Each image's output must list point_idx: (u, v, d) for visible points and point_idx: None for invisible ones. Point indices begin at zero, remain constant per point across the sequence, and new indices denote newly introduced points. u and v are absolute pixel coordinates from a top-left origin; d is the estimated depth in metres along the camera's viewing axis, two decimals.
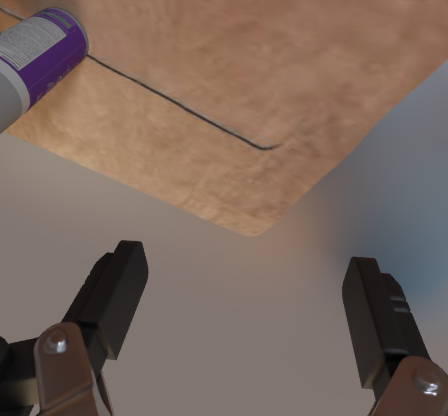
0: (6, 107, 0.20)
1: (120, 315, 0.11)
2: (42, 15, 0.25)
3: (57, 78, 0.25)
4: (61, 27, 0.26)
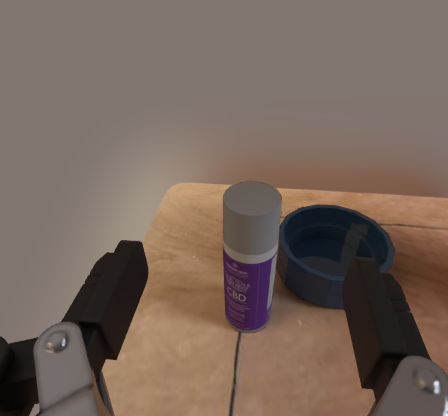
0: (261, 240, 0.24)
1: (120, 315, 0.11)
2: None
3: (246, 295, 0.28)
4: (269, 306, 0.31)
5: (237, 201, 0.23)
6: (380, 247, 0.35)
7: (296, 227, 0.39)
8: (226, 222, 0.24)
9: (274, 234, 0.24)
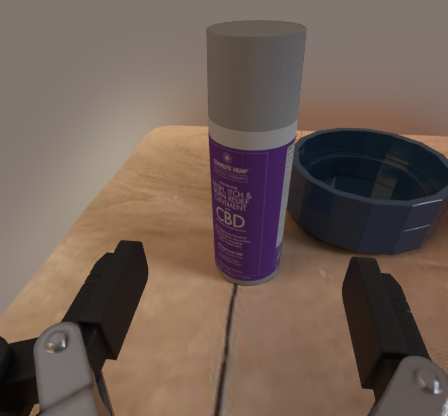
0: (270, 99, 0.14)
1: (120, 315, 0.11)
2: None
3: (245, 216, 0.18)
4: (280, 245, 0.21)
5: (230, 29, 0.14)
6: (432, 174, 0.25)
7: (312, 158, 0.30)
8: (211, 72, 0.14)
9: (293, 95, 0.14)
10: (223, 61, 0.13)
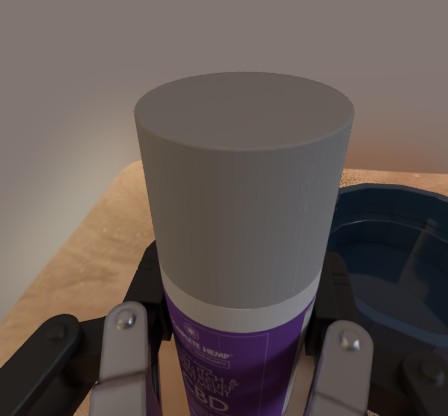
0: (274, 260, 0.06)
1: None
2: None
3: (229, 402, 0.10)
4: (287, 404, 0.13)
5: (185, 110, 0.06)
6: None
7: None
8: (149, 193, 0.07)
9: (322, 238, 0.07)
10: (167, 186, 0.06)
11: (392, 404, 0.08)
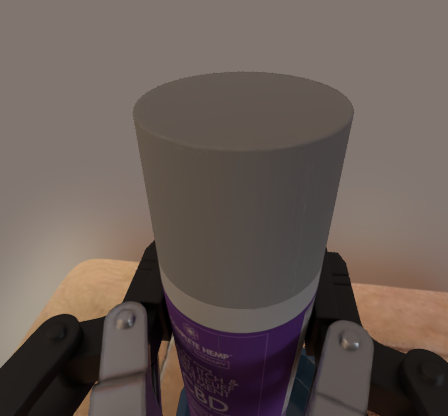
0: (274, 260, 0.06)
1: None
2: None
3: (229, 402, 0.10)
4: (287, 404, 0.13)
5: (184, 110, 0.06)
6: None
7: None
8: (148, 193, 0.07)
9: (321, 238, 0.07)
10: (165, 186, 0.06)
11: (392, 404, 0.08)
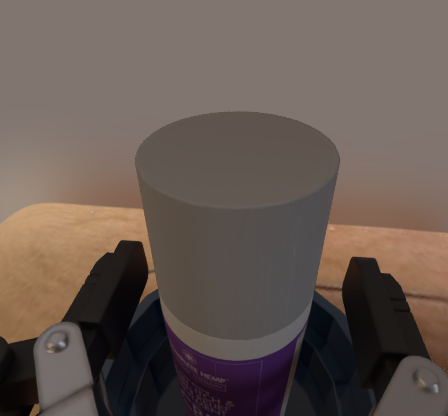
0: (266, 298, 0.07)
1: (120, 315, 0.11)
2: None
3: None
4: None
5: (183, 160, 0.07)
6: (355, 386, 0.14)
7: None
8: (149, 233, 0.07)
9: (311, 274, 0.07)
10: (166, 232, 0.06)
11: None
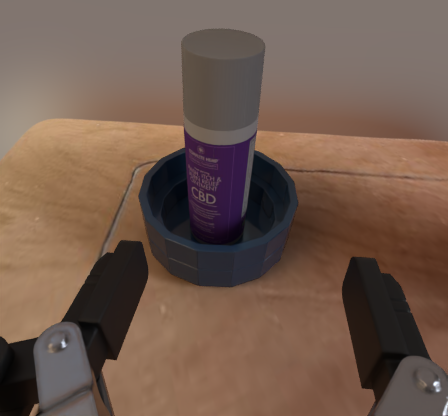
0: (236, 106, 0.17)
1: (120, 315, 0.11)
2: None
3: (216, 195, 0.21)
4: (244, 214, 0.25)
5: (202, 45, 0.16)
6: (284, 200, 0.26)
7: (180, 175, 0.29)
8: (186, 81, 0.17)
9: (254, 100, 0.18)
10: (197, 75, 0.16)
11: None
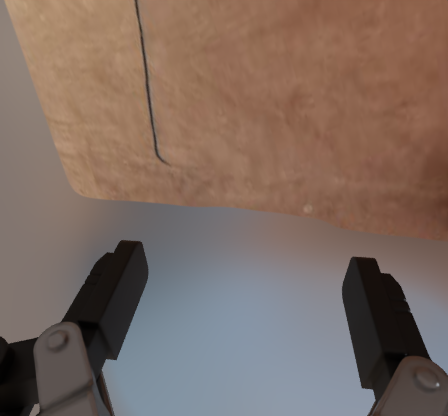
0: None
1: (120, 316, 0.11)
2: None
3: None
4: None
5: None
6: None
7: None
8: None
9: None
10: None
11: None
